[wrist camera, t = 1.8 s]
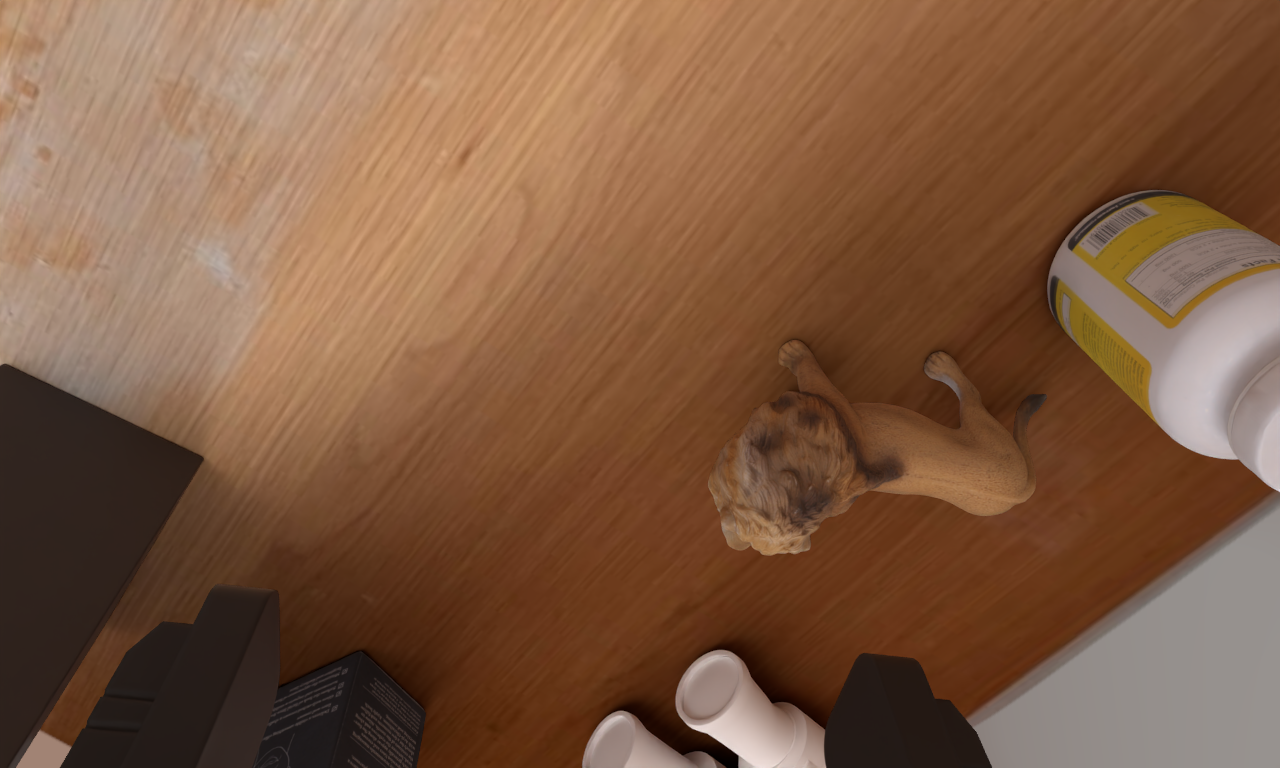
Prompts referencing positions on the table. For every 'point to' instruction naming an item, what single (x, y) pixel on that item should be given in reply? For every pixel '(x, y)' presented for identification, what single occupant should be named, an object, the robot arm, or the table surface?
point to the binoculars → (714, 725)
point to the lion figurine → (861, 457)
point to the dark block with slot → (68, 537)
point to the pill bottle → (1180, 320)
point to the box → (343, 720)
